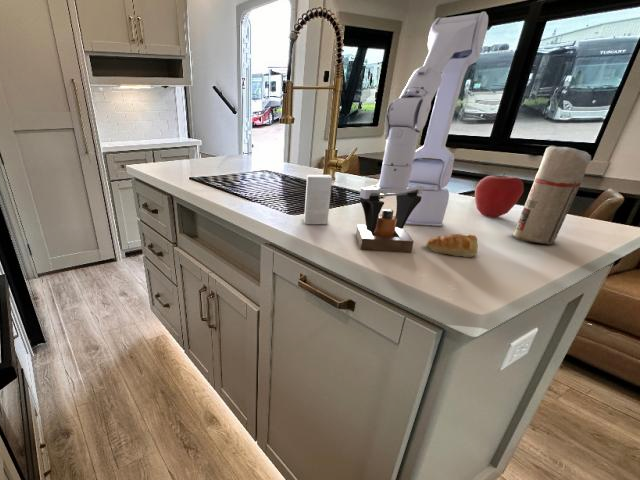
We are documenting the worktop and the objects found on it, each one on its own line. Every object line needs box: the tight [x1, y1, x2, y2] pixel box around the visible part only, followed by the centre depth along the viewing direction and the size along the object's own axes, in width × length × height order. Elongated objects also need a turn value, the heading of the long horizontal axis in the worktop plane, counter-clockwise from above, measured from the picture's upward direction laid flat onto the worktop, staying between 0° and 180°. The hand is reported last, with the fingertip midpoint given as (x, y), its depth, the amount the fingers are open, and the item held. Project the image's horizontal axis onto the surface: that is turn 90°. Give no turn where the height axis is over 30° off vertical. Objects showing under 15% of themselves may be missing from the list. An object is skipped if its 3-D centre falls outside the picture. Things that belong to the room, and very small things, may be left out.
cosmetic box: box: [303, 174, 333, 225], centre depth 93 cm, size 6×4×12 cm
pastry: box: [425, 233, 479, 258], centre depth 76 cm, size 9×7×4 cm
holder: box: [355, 224, 415, 253], centre depth 81 cm, size 10×10×2 cm
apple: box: [474, 172, 525, 218], centre depth 99 cm, size 11×11×12 cm
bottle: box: [373, 208, 398, 237], centre depth 80 cm, size 4×4×8 cm
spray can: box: [512, 145, 592, 245], centre depth 79 cm, size 8×8×20 cm
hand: (384, 228), depth 80 cm, fingers open, 7 cm apart
